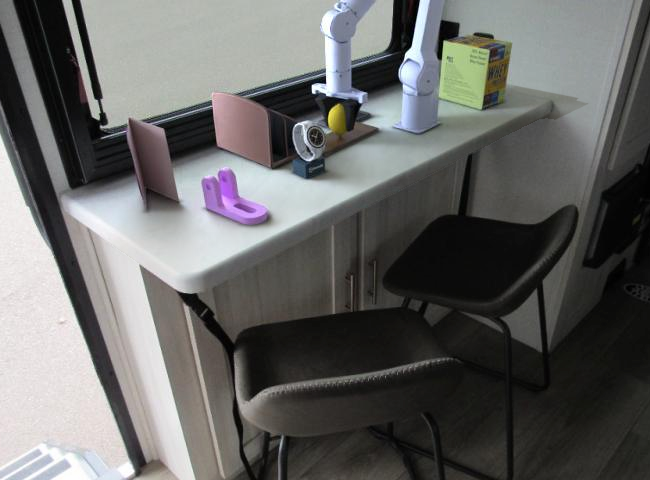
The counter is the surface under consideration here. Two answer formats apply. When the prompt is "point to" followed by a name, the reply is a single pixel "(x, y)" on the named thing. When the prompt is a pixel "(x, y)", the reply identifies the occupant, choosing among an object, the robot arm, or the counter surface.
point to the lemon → (337, 120)
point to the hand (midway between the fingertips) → (339, 127)
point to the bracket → (230, 199)
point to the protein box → (474, 71)
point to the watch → (316, 142)
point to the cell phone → (360, 117)
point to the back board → (346, 138)
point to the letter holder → (253, 130)
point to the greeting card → (151, 158)
